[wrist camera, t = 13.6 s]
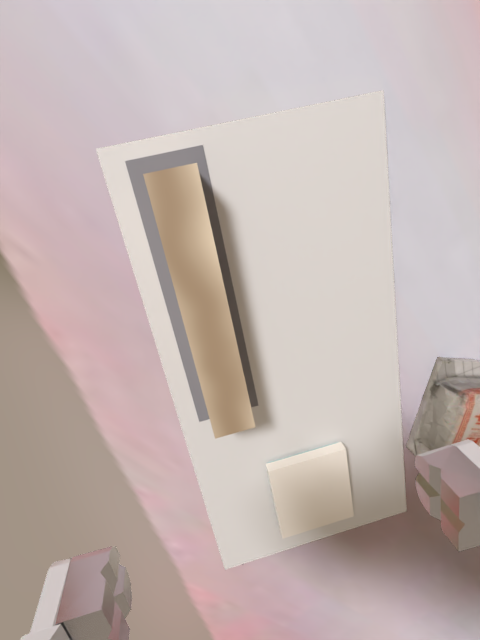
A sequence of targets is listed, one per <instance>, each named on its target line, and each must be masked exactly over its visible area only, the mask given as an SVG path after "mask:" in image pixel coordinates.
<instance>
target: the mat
mask: <svg viewBox="0 0 480 640" xmlns="http://www.w3.org/2000/svg"><path fill="white" fill-rule="evenodd" d="M96 151H97V155H98V158H99V161H100V164H101V168H102V171H103V174H104V177H105V181H106V184H107V187H108V190H109V194H110V197H111V200H112V203H113V207H114V210H115V213H116V216H117V220H118V223H119V226H120V229H121V233H122V236H123V239H124V242H125V246H126V249H127V252H128V256H129V259H130V262H131V265H132V269H133V272H134V275H135V278H136V282H137V285H138V288H139V291H140V295H141V298H142V301H143V304H144V308H145V311H146V314H147V317H148V321H149V324H150V327H151V330H152V334H153V337H154V340H155V343H156V347H157V350H158V353H159V356H160V360H161V363H162V366H163V369H164V373H165V376H166V379H167V382H168V386H169V389H170V392H171V395H172V399H173V402H174V405H175V408H176V412H177V415H178V418H179V421H180V425H181V428H182V431H183V434H184V438H185V441H186V444H187V448H188V451H189V454H190V457H191V461H192V464H193V467H194V470H195V474H196V477H197V480H198V483H199V487H200V490H201V493H202V496H203V500H204V503H205V506H206V509H207V513H208V516H209V519H210V522H211V526H212V529H213V532H214V535H215V539H216V542H217V545H218V548H219V552H220V555H221V558H222V561H223V565H224V568H225V570H226V569H229V568H232V567H235V566H238V565H241V564H244V563H247V562H251V561H254V560H257V559H260V558H263V557H266V556H269V555H272V554H275V553H279V552H282V551H285V550H288V549H291V548H294V547H297V546H300V545H303V544H307V543H310V542H313V541H316V540H319V539H322V538H325V537H328V536H331V535H334V534H338V533H341V532H344V531H347V530H350V529H353V528H356V527H359V526H362V525H366V524H369V523H372V522H375V521H378V520H381V519H384V518H387V517H390V516H394V515H397V514H400V513H403V512H406V511H407V509H406V490H405V472H404V454H403V436H402V417H401V399H400V381H399V363H398V344H397V326H396V308H395V290H394V271H393V253H392V235H391V217H390V198H389V180H388V162H387V144H386V125H385V107H384V90H383V91H378V92H373V93H368V94H363V95H358V96H353V97H348V98H343V99H338V100H333V101H329V102H324V103H319V104H314V105H309V106H304V107H299V108H294V109H289V110H284V111H279V112H275V113H270V114H265V115H260V116H255V117H250V118H245V119H240V120H235V121H230V122H225V123H221V124H216V125H211V126H206V127H201V128H196V129H191V130H186V131H181V132H176V133H172V134H167V135H162V136H157V137H152V138H147V139H142V140H137V141H132V142H127V143H122V144H118V145H113V146H108V147H103V148H98V149H96ZM193 163H197V165H198V170H199V174H200V179H201V183H202V188H203V192H204V197H205V201H206V206H207V210H208V215H209V219H210V224H211V228H212V233H213V237H214V242H215V246H216V251H217V255H218V260H219V264H220V269H221V273H222V278H223V282H224V287H225V292H226V296H227V301H228V305H229V310H230V314H231V319H232V323H233V328H234V332H235V337H236V341H237V346H238V350H239V355H240V359H241V364H242V368H243V373H244V377H245V382H246V386H247V391H248V395H249V400H250V404H251V409H252V413H253V418H254V422H255V427H254V428H251V429H247V430H244V431H240V432H237V433H233V434H230V435H226V436H223V437H219V438H216V439H215V437H214V433H213V429H212V426H211V422H210V418H209V415H208V411H207V407H206V404H205V400H204V396H203V393H202V389H201V385H200V382H199V378H198V374H197V371H196V367H195V363H194V359H193V356H192V352H191V348H190V345H189V341H188V337H187V334H186V330H185V326H184V323H183V319H182V315H181V312H180V308H179V304H178V301H177V297H176V293H175V290H174V286H173V282H172V279H171V275H170V271H169V268H168V264H167V260H166V257H165V253H164V249H163V245H162V242H161V238H160V234H159V231H158V227H157V223H156V220H155V216H154V212H153V209H152V205H151V201H150V198H149V194H148V190H147V187H146V183H145V179H144V176H143V174H146V173H151V172H155V171H160V170H165V169H169V168H174V167H179V166H184V165H188V164H193ZM337 442H342V444H343V445H344V447H345V448H346V454H347V462H348V471H349V479H350V487H351V496H352V504H353V512H354V516H353V517H350V518H347V519H344V520H340V521H337V522H334V523H331V524H328V525H325V526H321V527H318V528H315V529H312V530H309V531H306V532H303V533H299V534H296V535H293V536H290V537H287V538H284V539H283V538H282V535H281V532H280V528H279V524H278V519H277V515H276V510H275V505H274V501H273V496H272V492H271V487H270V482H269V478H268V473H267V468H266V464H267V463H269V462H272V461H276V460H279V459H282V458H286V457H289V456H293V455H296V454H299V453H303V452H306V451H310V450H313V449H316V448H320V447H323V446H327V445H330V444H333V443H337Z"/></svg>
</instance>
